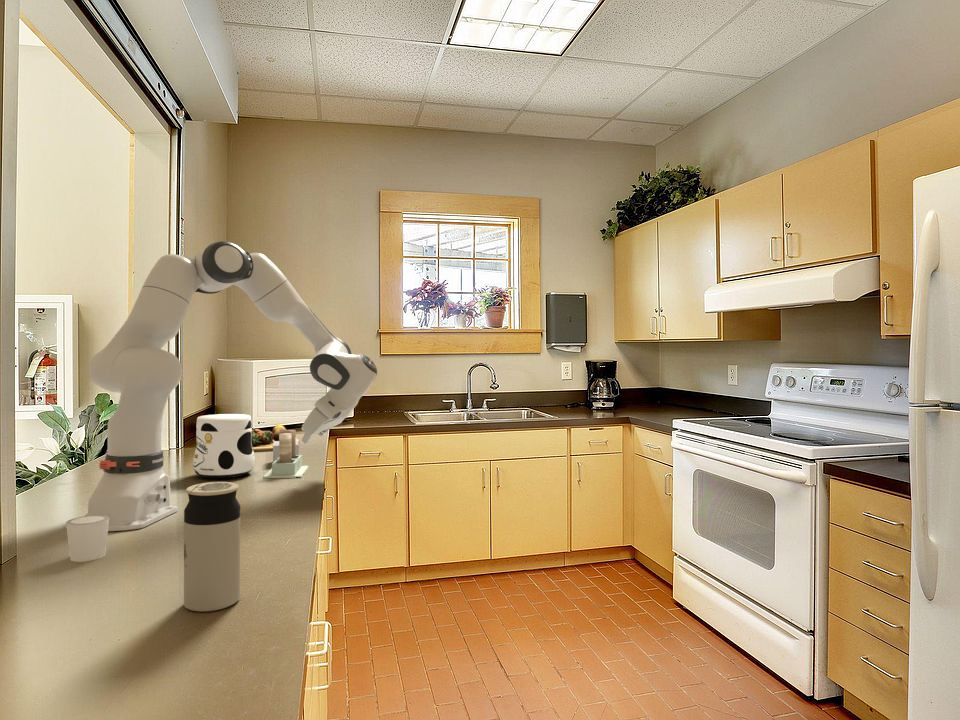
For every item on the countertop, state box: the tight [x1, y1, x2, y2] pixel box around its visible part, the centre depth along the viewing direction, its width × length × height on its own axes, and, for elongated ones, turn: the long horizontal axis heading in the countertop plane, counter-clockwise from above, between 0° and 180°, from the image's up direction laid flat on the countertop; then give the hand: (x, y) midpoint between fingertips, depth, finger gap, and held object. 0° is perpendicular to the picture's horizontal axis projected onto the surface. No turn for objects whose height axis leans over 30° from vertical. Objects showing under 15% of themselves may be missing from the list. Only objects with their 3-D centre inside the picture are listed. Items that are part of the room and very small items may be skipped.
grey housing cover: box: [272, 439, 300, 463], centre depth 209 cm, size 10×8×7 cm
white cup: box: [65, 515, 109, 563], centre depth 116 cm, size 7×7×7 cm
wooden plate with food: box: [251, 423, 300, 453], centre depth 246 cm, size 32×32×8 cm
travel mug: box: [183, 481, 241, 613], centre depth 96 cm, size 8×8×18 cm
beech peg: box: [279, 433, 292, 463], centre depth 192 cm, size 4×4×12 cm
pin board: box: [262, 429, 310, 479], centre depth 195 cm, size 16×11×13 cm
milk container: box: [192, 413, 256, 479], centre depth 189 cm, size 17×17×18 cm
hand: (312, 438), depth 185 cm, fingers open, 8 cm apart
